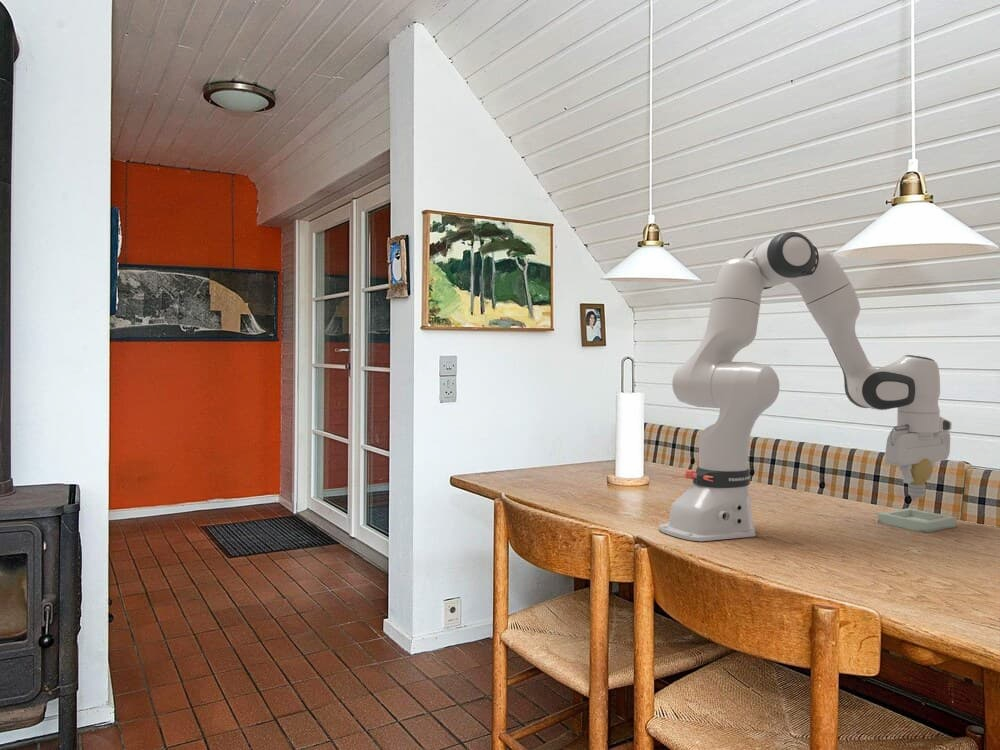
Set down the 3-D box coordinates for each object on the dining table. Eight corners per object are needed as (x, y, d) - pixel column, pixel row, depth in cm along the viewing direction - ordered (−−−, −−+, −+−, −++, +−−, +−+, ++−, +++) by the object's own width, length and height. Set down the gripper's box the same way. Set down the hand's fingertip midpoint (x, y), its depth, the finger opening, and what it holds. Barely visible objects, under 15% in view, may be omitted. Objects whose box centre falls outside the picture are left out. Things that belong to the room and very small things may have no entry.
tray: (926, 532, 176) (926, 523, 176) (877, 522, 187) (877, 513, 187) (956, 526, 182) (957, 517, 182) (908, 516, 192) (908, 508, 192)
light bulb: (901, 498, 183) (902, 456, 183) (901, 493, 189) (902, 452, 188) (932, 500, 180) (933, 458, 180) (931, 495, 186) (932, 454, 185)
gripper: (903, 427, 176) (902, 488, 176) (956, 422, 186) (954, 479, 186) (878, 425, 181) (877, 483, 182) (930, 420, 191) (929, 475, 192)
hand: (917, 481), depth 184 cm, fingers closed on light bulb, 5 cm apart
